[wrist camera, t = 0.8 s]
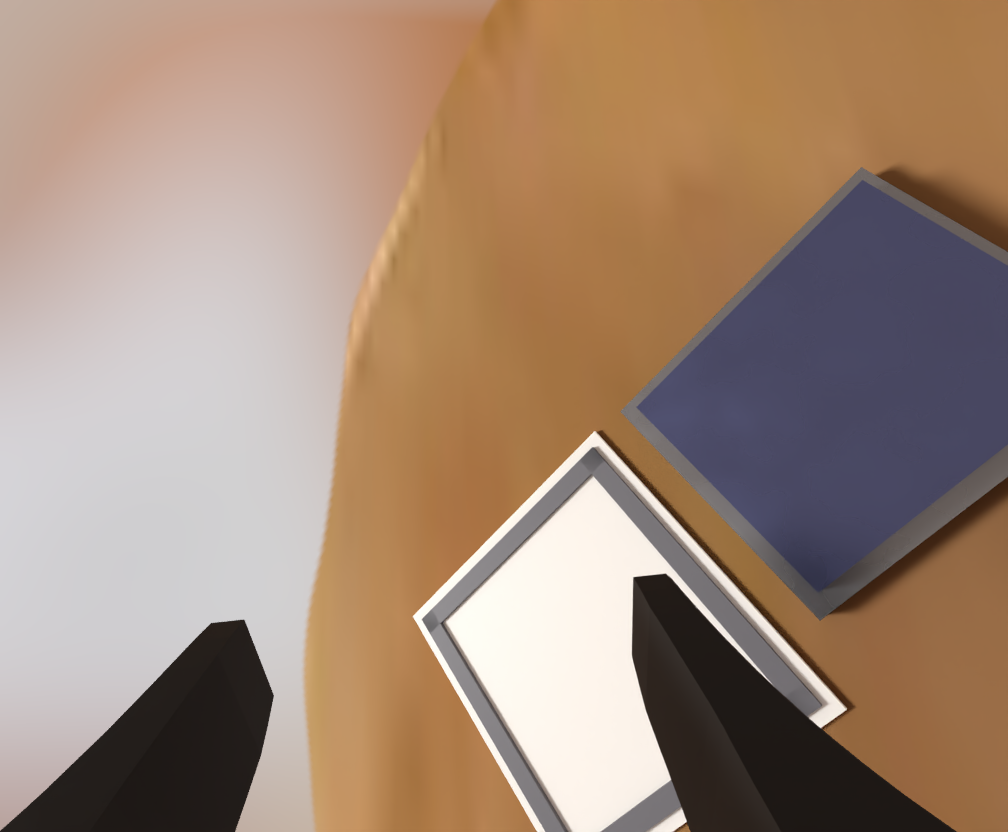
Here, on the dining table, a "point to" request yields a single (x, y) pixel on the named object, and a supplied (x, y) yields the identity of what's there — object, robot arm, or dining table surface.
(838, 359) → the ink pad
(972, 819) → the dining table surface
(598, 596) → the marked square
